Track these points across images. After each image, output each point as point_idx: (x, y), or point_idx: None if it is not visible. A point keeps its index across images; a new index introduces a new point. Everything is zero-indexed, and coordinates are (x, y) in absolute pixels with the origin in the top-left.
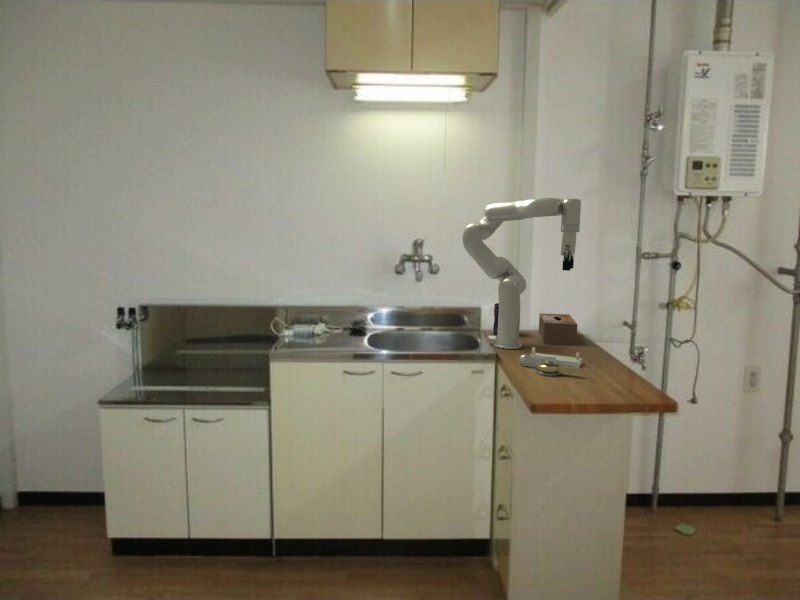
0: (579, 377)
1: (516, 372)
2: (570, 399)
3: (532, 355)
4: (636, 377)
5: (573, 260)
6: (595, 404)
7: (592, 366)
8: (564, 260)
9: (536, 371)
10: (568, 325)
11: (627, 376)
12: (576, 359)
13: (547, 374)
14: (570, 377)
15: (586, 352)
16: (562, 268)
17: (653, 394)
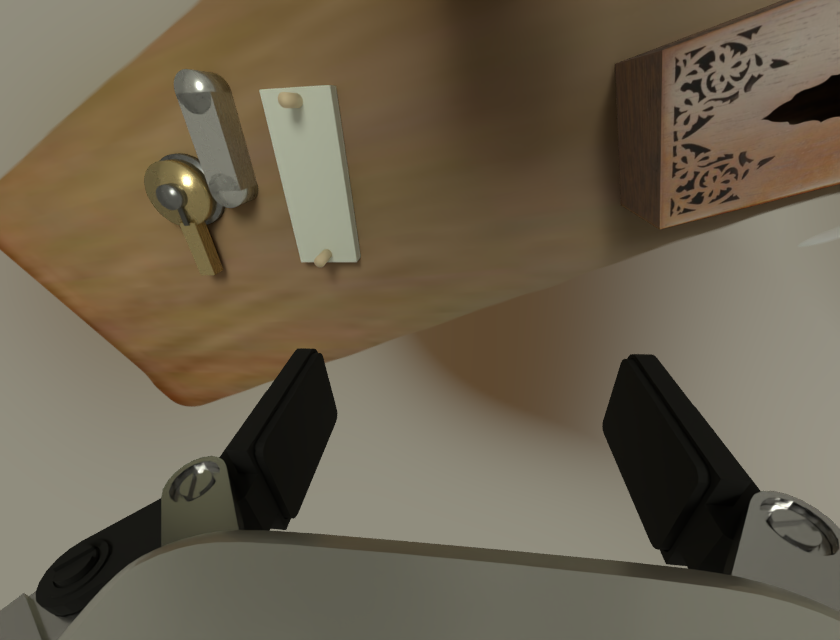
0: None
1: (120, 93)
2: (58, 272)
3: (213, 119)
4: None
5: (658, 538)
6: (77, 314)
7: (341, 285)
8: (202, 473)
9: (165, 156)
10: (656, 186)
11: None
12: (321, 251)
13: None
14: None
15: (507, 253)
16: (291, 357)
17: (217, 389)
